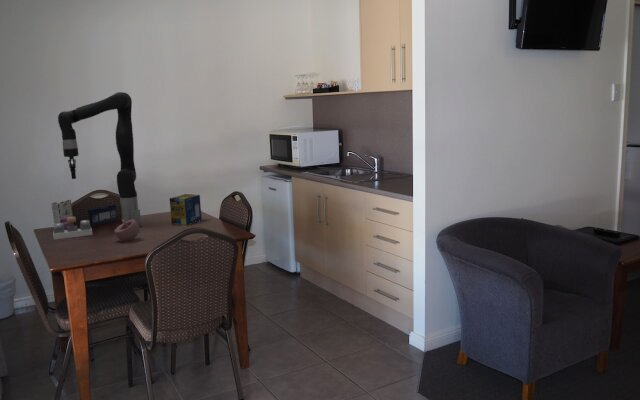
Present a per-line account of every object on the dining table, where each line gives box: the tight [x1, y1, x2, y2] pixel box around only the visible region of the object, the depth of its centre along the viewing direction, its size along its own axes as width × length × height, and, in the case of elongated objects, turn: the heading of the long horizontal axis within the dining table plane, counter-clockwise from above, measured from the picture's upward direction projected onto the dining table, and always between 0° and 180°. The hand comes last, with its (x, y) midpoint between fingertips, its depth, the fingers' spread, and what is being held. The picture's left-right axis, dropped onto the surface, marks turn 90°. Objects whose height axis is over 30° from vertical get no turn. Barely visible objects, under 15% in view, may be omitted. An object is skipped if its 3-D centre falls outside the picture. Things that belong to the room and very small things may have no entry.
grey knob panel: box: [52, 224, 93, 241], centre depth 299 cm, size 19×7×5 cm, turn 115°
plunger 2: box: [80, 219, 90, 226], centre depth 301 cm, size 4×4×4 cm
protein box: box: [169, 193, 202, 226], centre depth 322 cm, size 10×15×16 cm
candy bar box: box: [51, 199, 75, 230], centre depth 317 cm, size 11×5×16 cm, turn 168°
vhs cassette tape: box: [87, 204, 119, 227], centre depth 331 cm, size 18×3×10 cm, turn 148°
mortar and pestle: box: [113, 218, 140, 242], centre depth 281 cm, size 12×12×12 cm
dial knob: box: [67, 216, 77, 226], centre depth 298 cm, size 4×4×5 cm
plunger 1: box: [53, 223, 63, 230], centre depth 296 cm, size 4×4×4 cm
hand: (73, 178), depth 312 cm, fingers closed
